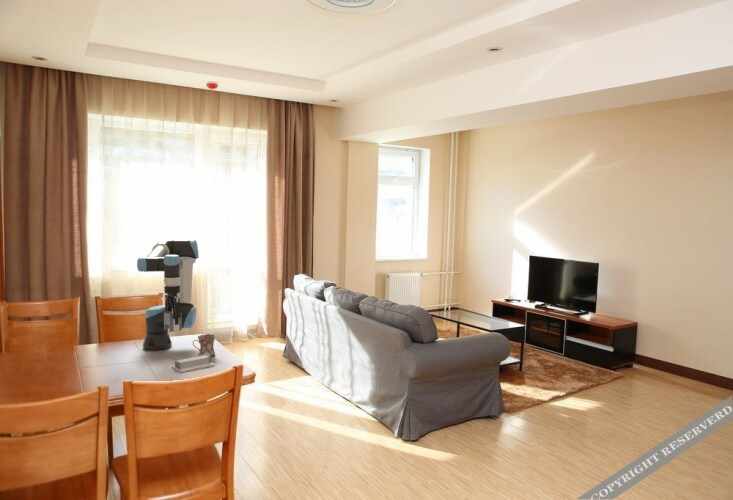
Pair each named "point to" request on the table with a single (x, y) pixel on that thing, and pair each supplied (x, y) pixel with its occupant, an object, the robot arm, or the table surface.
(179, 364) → the butter dish
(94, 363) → the table surface
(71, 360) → the table surface
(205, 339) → the mug
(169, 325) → the module
